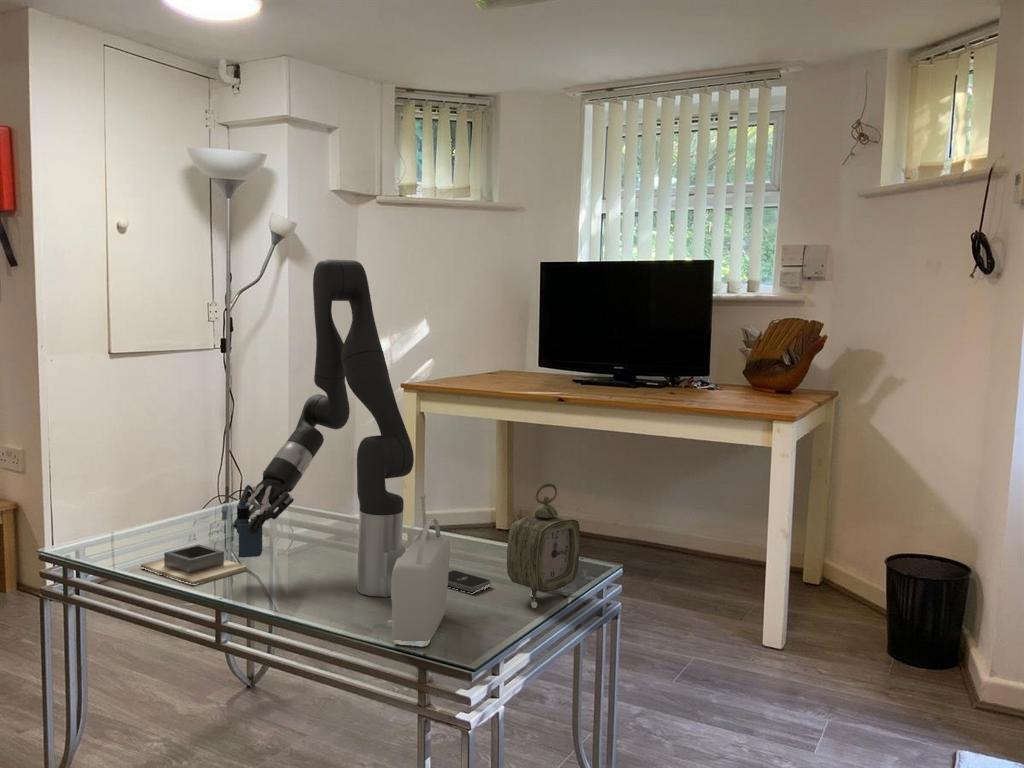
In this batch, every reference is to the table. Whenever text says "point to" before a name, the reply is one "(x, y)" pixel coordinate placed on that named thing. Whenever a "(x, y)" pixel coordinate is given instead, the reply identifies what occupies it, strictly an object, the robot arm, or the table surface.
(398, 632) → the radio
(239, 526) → the vaping device
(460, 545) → the table surface
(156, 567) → the mounting board
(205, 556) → the square socket
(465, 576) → the external hard drive
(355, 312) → the robot arm
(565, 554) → the tabletop clock
